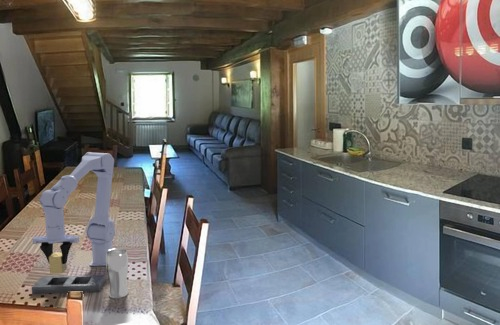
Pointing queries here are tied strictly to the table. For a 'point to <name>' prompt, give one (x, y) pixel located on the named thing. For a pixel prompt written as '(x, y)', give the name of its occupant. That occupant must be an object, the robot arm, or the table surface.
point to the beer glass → (117, 272)
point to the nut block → (56, 263)
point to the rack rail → (68, 284)
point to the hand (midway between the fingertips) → (58, 262)
